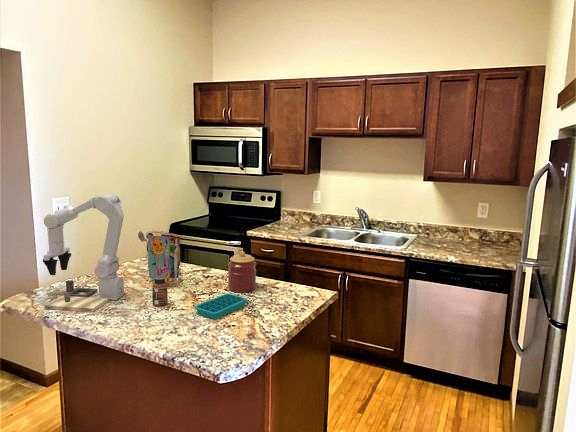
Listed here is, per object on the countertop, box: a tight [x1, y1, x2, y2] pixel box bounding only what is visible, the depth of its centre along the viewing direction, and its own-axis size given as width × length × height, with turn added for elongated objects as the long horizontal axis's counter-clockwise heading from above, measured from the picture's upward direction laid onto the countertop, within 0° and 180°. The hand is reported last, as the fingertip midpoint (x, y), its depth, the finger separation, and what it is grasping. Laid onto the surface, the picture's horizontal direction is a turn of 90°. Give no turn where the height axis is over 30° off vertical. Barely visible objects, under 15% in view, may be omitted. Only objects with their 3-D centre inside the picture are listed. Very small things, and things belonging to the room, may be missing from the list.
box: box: [137, 230, 184, 288], centre depth 198 cm, size 25×6×24 cm, turn 62°
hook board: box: [44, 292, 109, 313], centre depth 169 cm, size 20×11×5 cm, turn 84°
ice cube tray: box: [193, 293, 248, 320], centre depth 169 cm, size 12×20×3 cm, turn 146°
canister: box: [227, 250, 257, 293], centre depth 193 cm, size 13×13×18 cm
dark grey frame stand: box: [65, 279, 99, 297], centre depth 181 cm, size 11×9×6 cm
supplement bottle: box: [151, 277, 169, 307], centre depth 172 cm, size 6×6×11 cm
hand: (58, 272), depth 180 cm, fingers open, 7 cm apart
